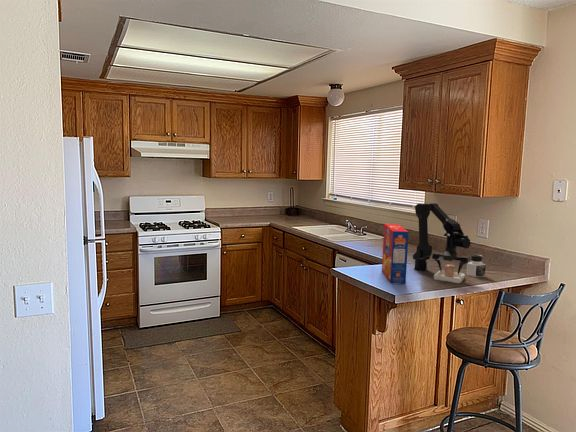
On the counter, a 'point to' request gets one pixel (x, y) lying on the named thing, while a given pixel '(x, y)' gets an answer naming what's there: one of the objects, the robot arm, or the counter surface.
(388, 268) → the cereal box
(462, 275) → the tray
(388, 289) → the counter surface
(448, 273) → the peach rounded cylinder
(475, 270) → the medicine bottle
